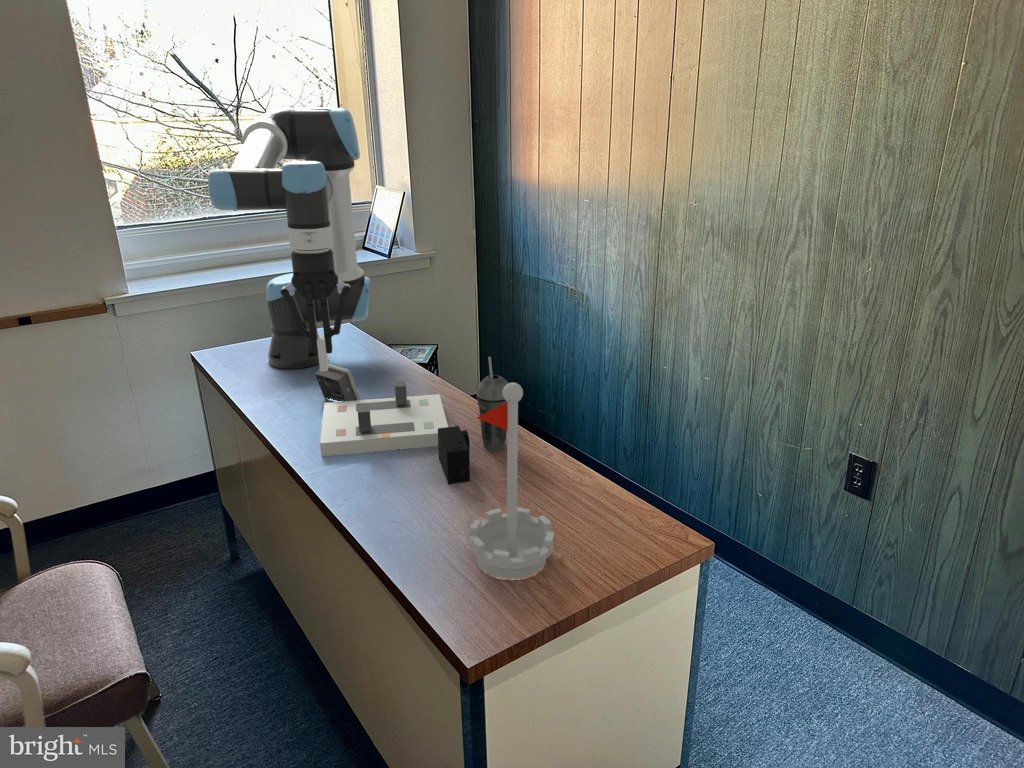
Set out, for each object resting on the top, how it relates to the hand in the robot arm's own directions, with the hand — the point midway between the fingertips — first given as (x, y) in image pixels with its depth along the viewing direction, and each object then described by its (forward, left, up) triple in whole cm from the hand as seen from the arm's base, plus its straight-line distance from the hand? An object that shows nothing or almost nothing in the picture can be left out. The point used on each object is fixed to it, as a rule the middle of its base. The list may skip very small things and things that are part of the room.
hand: (324, 368), depth 137 cm
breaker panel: (-6, +11, -17) cm, 21 cm away
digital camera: (+14, +24, -18) cm, 33 cm away
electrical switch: (-23, +1, -18) cm, 29 cm away
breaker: (-12, +15, -14) cm, 24 cm away
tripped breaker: (0, +7, -14) cm, 15 cm away
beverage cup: (+6, +33, -18) cm, 38 cm away
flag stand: (+44, +29, -18) cm, 55 cm away
